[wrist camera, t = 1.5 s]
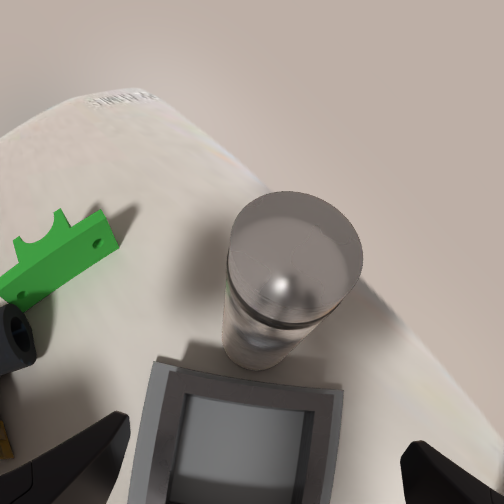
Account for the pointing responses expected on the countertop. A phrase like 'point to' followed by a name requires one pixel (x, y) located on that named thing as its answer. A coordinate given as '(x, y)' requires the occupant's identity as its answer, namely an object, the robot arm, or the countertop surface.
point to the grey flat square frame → (229, 446)
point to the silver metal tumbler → (285, 275)
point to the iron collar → (186, 385)
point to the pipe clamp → (56, 258)
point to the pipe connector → (13, 354)
